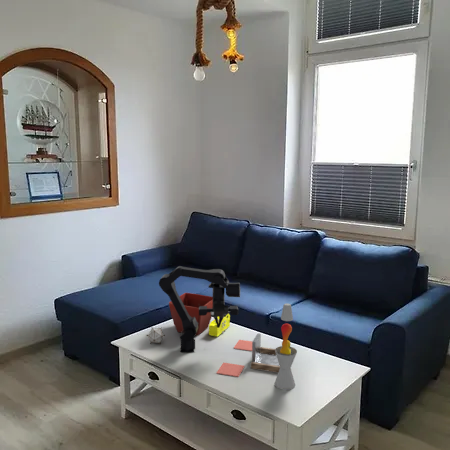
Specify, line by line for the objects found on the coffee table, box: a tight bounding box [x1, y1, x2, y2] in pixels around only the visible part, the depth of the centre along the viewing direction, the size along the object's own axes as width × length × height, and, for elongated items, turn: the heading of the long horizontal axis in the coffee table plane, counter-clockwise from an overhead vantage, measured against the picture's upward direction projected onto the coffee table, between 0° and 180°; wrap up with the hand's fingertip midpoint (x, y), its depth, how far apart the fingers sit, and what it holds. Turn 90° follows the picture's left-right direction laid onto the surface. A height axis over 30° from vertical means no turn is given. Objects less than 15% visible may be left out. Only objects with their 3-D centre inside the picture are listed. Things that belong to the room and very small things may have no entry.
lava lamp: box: [274, 303, 298, 391], centre depth 191 cm, size 9×9×35 cm
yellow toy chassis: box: [208, 313, 231, 337], centre depth 247 cm, size 16×6×8 cm, turn 156°
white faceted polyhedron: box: [146, 326, 166, 345], centre depth 233 cm, size 9×8×10 cm
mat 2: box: [233, 339, 253, 352], centre depth 230 cm, size 10×10×1 cm
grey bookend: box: [251, 332, 280, 366], centre depth 213 cm, size 12×10×11 cm
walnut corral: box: [250, 346, 280, 373], centre depth 213 cm, size 15×17×2 cm
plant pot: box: [168, 292, 213, 337], centre depth 248 cm, size 19×19×17 cm
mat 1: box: [215, 362, 245, 378], centre depth 206 cm, size 10×10×1 cm
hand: (218, 327), depth 222 cm, fingers closed
